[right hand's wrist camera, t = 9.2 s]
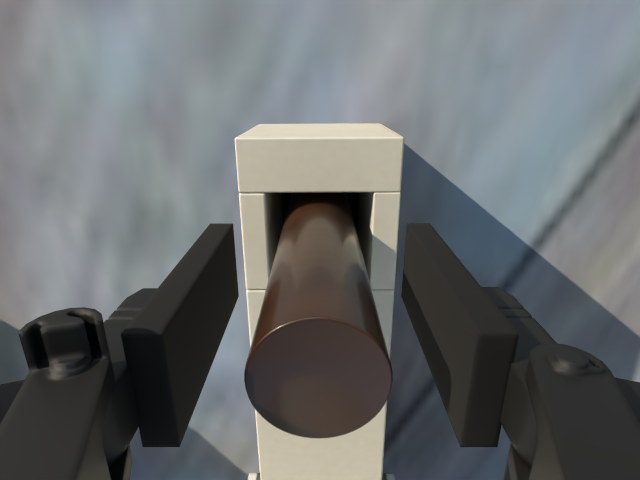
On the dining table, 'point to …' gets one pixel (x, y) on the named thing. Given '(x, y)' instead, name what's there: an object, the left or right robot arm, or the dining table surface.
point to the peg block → (375, 241)
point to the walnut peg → (318, 327)
